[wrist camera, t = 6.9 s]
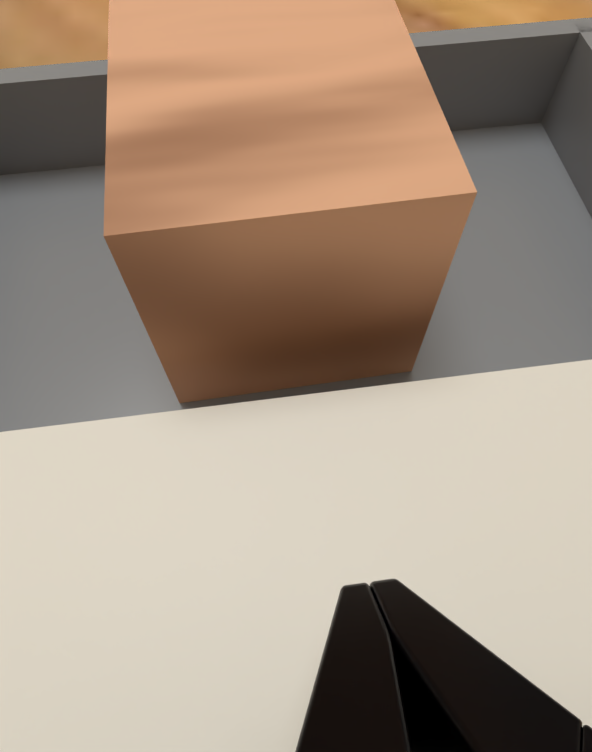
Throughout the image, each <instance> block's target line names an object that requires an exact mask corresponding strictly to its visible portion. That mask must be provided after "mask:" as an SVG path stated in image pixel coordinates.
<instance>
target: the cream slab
mask: <svg viewBox="0 0 592 752" xmlns="http://www.w3.org/2000/svg"><path fill="white" fill-rule="evenodd" d="M385 579H397V580H399V581H400V582H401V583H403V584H404V585H405V586H407V587H408V588H409V589H411V590H412V591H413V592H414V593H416V594H417V595H418V596H420V597H421V598H422V599H424V600H425V601H426V602H428V603H429V604H430V605H431V606H433V607H434V608H435V609H437V610H438V611H439V612H441V613H442V614H443V615H444V616H446V617H447V618H448V619H450V620H451V621H452V622H454V623H455V624H456V625H458V626H459V627H460V628H461V629H463V630H464V631H465V632H467V633H468V634H469V635H471V636H472V637H473V638H475V639H476V640H477V641H478V642H480V643H481V644H482V645H484V646H485V647H486V648H488V649H489V650H490V651H492V652H493V653H494V654H495V655H497V656H498V657H499V658H501V659H502V660H503V661H505V662H506V663H507V664H508V665H510V666H511V667H512V668H514V669H515V670H516V671H518V672H519V673H520V674H522V675H523V676H524V677H525V678H527V679H528V680H529V681H531V682H532V683H533V684H535V685H536V686H537V687H539V688H540V689H541V690H542V691H544V692H545V693H546V694H548V695H549V696H550V697H552V698H553V699H554V700H555V701H557V702H558V703H559V704H561V705H562V706H563V707H565V708H566V709H567V710H569V711H570V712H571V713H572V714H574V715H575V716H576V717H578V718H579V719H580V720H581V721H582V727H583V725H588V726H590V727H591V728H592V359H591V360H583V361H575V362H567V363H559V364H551V365H542V366H534V367H526V368H518V369H510V370H502V371H494V372H485V373H477V374H469V375H461V376H453V377H445V378H437V379H428V380H420V381H412V382H404V383H396V384H388V385H380V386H371V387H363V388H355V389H347V390H339V391H331V392H322V393H314V394H306V395H298V396H290V397H282V398H274V399H265V400H257V401H249V402H241V403H233V404H225V405H217V406H208V407H200V408H192V409H184V410H176V411H168V412H160V413H151V414H143V415H135V416H127V417H119V418H111V419H103V420H94V421H86V422H78V423H70V424H62V425H54V426H46V427H37V428H29V429H21V430H13V431H5V432H0V752H295V750H296V747H297V743H298V740H299V736H300V733H301V729H302V725H303V722H304V718H305V715H306V711H307V707H308V704H309V700H310V697H311V693H312V690H313V686H314V682H315V679H316V675H317V672H318V668H319V665H320V661H321V657H322V654H323V650H324V647H325V643H326V640H327V636H328V632H329V629H330V625H331V622H332V618H333V614H334V611H335V607H336V604H337V600H338V597H339V593H340V590H341V588H342V587H343V586H344V585H350V584H357V583H367V584H368V585H369V586H370V583H371V582H373V581H378V580H385Z"/></svg>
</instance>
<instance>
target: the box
mask: <svg viewBox="0 0 592 752" xmlns="http://www.w3.org/2000/svg"><path fill="white" fill-rule="evenodd" d="M409 35H410V37H411V40H412V42H413V44H414V47H415V49H416V51H417V54H418V56H419V58H420V60H421V63H422V65H423V67H424V70H425V72H426V74H427V77H428V79H429V81H430V84H431V86H432V88H433V91H434V93H435V95H436V98H437V100H438V102H439V105H440V107H441V109H442V111H443V114H444V116H445V118H446V121H447V123H448V125H449V128H450V130H451V132H452V135H453V137H454V139H455V142H456V144H457V146H458V149H459V151H460V153H461V155H462V158H463V160H464V162H465V165H466V167H467V169H468V172H469V174H470V176H471V179H472V181H473V183H474V186H475V188H476V190H477V194H476V197H475V200H474V202H473V205H472V208H471V211H470V213H469V216H468V219H467V222H466V224H465V227H464V230H463V233H462V235H461V238H460V241H459V243H458V246H457V249H456V252H455V254H454V257H453V260H452V263H451V265H450V268H449V271H448V273H447V276H446V279H445V282H444V284H443V287H442V290H441V293H440V295H439V298H438V301H437V304H436V306H435V309H434V312H433V314H432V317H431V320H430V323H429V325H428V328H427V331H426V334H425V336H424V339H423V342H422V344H421V347H420V350H419V353H418V355H417V358H416V361H415V364H414V366H413V369H412V371H410V372H402V373H395V374H388V375H381V376H373V377H366V378H359V379H352V380H344V381H337V382H330V383H323V384H315V385H308V386H301V387H294V388H286V389H279V390H272V391H265V392H257V393H250V394H243V395H236V396H228V397H221V398H214V399H207V400H199V401H192V402H185V403H179V401H178V399H177V397H176V394H175V392H174V390H173V388H172V386H171V383H170V381H169V379H168V377H167V375H166V372H165V370H164V368H163V366H162V364H161V361H160V359H159V357H158V355H157V353H156V350H155V348H154V346H153V344H152V342H151V339H150V337H149V335H148V333H147V331H146V328H145V326H144V324H143V322H142V320H141V317H140V315H139V313H138V311H137V309H136V306H135V304H134V302H133V300H132V298H131V295H130V293H129V291H128V289H127V287H126V284H125V282H124V280H123V278H122V276H121V273H120V271H119V269H118V267H117V265H116V262H115V260H114V258H113V256H112V254H111V251H110V249H109V247H108V245H107V243H106V240H105V238H104V196H105V154H106V112H107V70H108V60H99V61H88V62H76V63H65V64H53V65H42V66H30V67H19V68H7V69H0V432H5V431H13V430H21V429H29V428H37V427H46V426H54V425H62V424H70V423H78V422H86V421H94V420H103V419H111V418H119V417H127V416H135V415H143V414H151V413H160V412H168V411H176V410H184V409H192V408H200V407H208V406H217V405H225V404H233V403H241V402H249V401H257V400H265V399H274V398H282V397H290V396H298V395H306V394H314V393H322V392H331V391H339V390H347V389H355V388H363V387H371V386H380V385H388V384H396V383H404V382H412V381H420V380H428V379H437V378H445V377H453V376H461V375H469V374H477V373H485V372H494V371H502V370H510V369H518V368H526V367H534V366H542V365H551V364H559V363H567V362H575V361H583V360H591V359H592V18H581V19H570V20H558V21H547V22H536V23H524V24H513V25H501V26H490V27H478V28H467V29H455V30H444V31H432V32H421V33H409Z"/></svg>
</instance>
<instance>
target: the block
mask: <svg viewBox="0 0 592 752" xmlns="http://www.w3.org/2000/svg"><path fill="white" fill-rule="evenodd" d="M476 194H477V190H476V188H475V186H474V183H473V181H472V179H471V176H470V174H469V172H468V169H467V167H466V165H465V162H464V160H463V158H462V155H461V153H460V151H459V149H458V146H457V144H456V142H455V139H454V137H453V135H452V132H451V130H450V128H449V125H448V123H447V121H446V118H445V116H444V114H443V111H442V109H441V107H440V105H439V102H438V100H437V98H436V95H435V93H434V91H433V88H432V86H431V84H430V81H429V79H428V77H427V74H426V72H425V70H424V67H423V65H422V63H421V60H420V58H419V56H418V54H417V51H416V49H415V47H414V44H413V42H412V40H411V37H410V35H409V33H408V30H407V28H406V26H405V23H404V21H403V19H402V16H401V14H400V12H399V9H398V7H397V5H396V3H395V0H109V28H108V70H107V112H106V154H105V196H104V238H105V240H106V243H107V245H108V247H109V249H110V251H111V254H112V256H113V258H114V260H115V262H116V265H117V267H118V269H119V271H120V273H121V276H122V278H123V280H124V282H125V284H126V287H127V289H128V291H129V293H130V295H131V298H132V300H133V302H134V304H135V306H136V309H137V311H138V313H139V315H140V317H141V320H142V322H143V324H144V326H145V328H146V331H147V333H148V335H149V337H150V339H151V342H152V344H153V346H154V348H155V350H156V353H157V355H158V357H159V359H160V361H161V364H162V366H163V368H164V370H165V372H166V375H167V377H168V379H169V381H170V383H171V386H172V388H173V390H174V392H175V394H176V397H177V399H178V401H179V403H185V402H192V401H199V400H207V399H214V398H221V397H228V396H236V395H243V394H250V393H257V392H265V391H272V390H279V389H286V388H294V387H301V386H308V385H315V384H323V383H330V382H337V381H344V380H352V379H359V378H366V377H373V376H381V375H388V374H395V373H402V372H410V371H412V369H413V366H414V364H415V361H416V358H417V355H418V353H419V350H420V347H421V344H422V342H423V339H424V336H425V334H426V331H427V328H428V325H429V323H430V320H431V317H432V314H433V312H434V309H435V306H436V304H437V301H438V298H439V295H440V293H441V290H442V287H443V284H444V282H445V279H446V276H447V273H448V271H449V268H450V265H451V263H452V260H453V257H454V254H455V252H456V249H457V246H458V243H459V241H460V238H461V235H462V233H463V230H464V227H465V224H466V222H467V219H468V216H469V213H470V211H471V208H472V205H473V202H474V200H475V197H476Z"/></svg>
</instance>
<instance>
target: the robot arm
mask: <svg viewBox="0 0 592 752" xmlns="http://www.w3.org/2000/svg"><path fill="white" fill-rule="evenodd" d="M295 752H592V728H591V727H590V726H588V725H583V727H582V721H581V720H580V719H579V718H578V717H576V716H575V715H574V714H572V713H571V712H570V711H569V710H567V709H566V708H565V707H563V706H562V705H561V704H559V703H558V702H557V701H555V700H554V699H553V698H552V697H550V696H549V695H548V694H546V693H545V692H544V691H542V690H541V689H540V688H539V687H537V686H536V685H535V684H533V683H532V682H531V681H529V680H528V679H527V678H525V677H524V676H523V675H522V674H520V673H519V672H518V671H516V670H515V669H514V668H512V667H511V666H510V665H508V664H507V663H506V662H505V661H503V660H502V659H501V658H499V657H498V656H497V655H495V654H494V653H493V652H492V651H490V650H489V649H488V648H486V647H485V646H484V645H482V644H481V643H480V642H478V641H477V640H476V639H475V638H473V637H472V636H471V635H469V634H468V633H467V632H465V631H464V630H463V629H461V628H460V627H459V626H458V625H456V624H455V623H454V622H452V621H451V620H450V619H448V618H447V617H446V616H444V615H443V614H442V613H441V612H439V611H438V610H437V609H435V608H434V607H433V606H431V605H430V604H429V603H428V602H426V601H425V600H424V599H422V598H421V597H420V596H418V595H417V594H416V593H414V592H413V591H412V590H411V589H409V588H408V587H407V586H405V585H404V584H403V583H401V582H400V581H399V580H397V579H385V580H378V581H373V582H371V583H370V586H369V585H368V584H367V583H357V584H350V585H344V586H343V587H342V588H341V590H340V593H339V597H338V600H337V604H336V607H335V611H334V614H333V618H332V622H331V625H330V629H329V632H328V636H327V640H326V643H325V647H324V650H323V654H322V657H321V661H320V665H319V668H318V672H317V675H316V679H315V682H314V686H313V690H312V693H311V697H310V700H309V704H308V707H307V711H306V715H305V718H304V722H303V725H302V729H301V733H300V736H299V740H298V743H297V747H296V750H295Z"/></svg>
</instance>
